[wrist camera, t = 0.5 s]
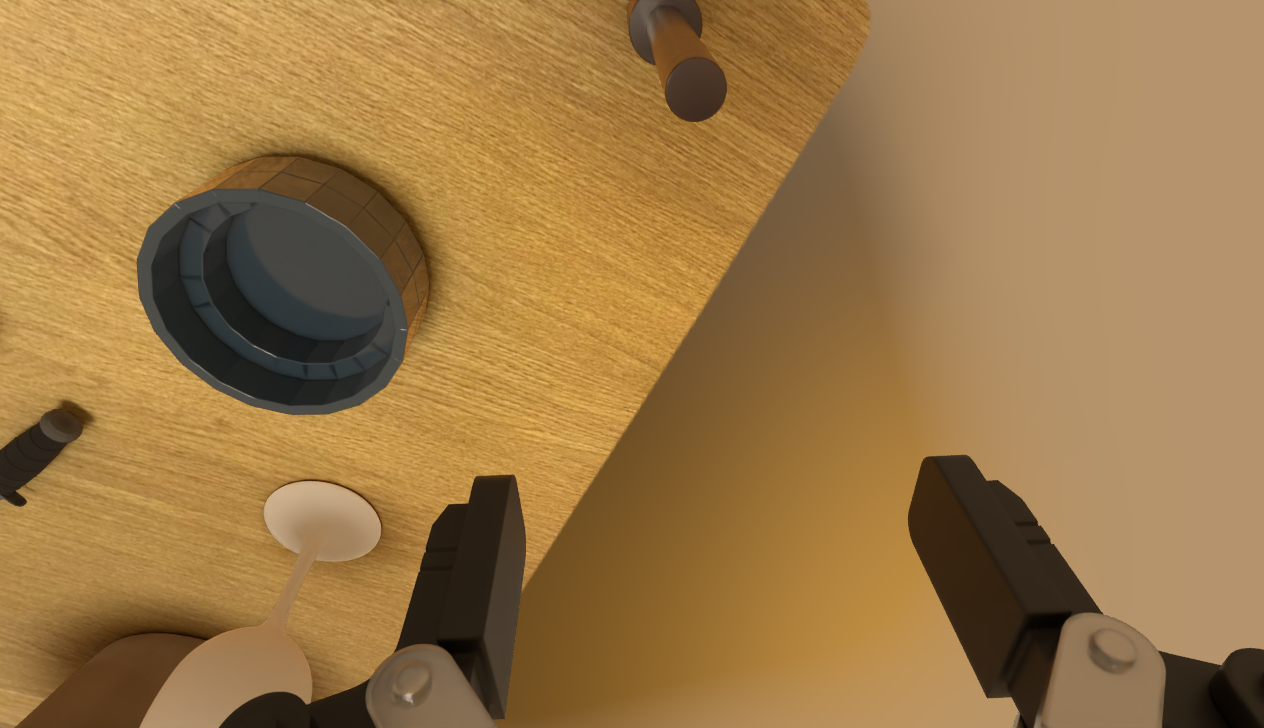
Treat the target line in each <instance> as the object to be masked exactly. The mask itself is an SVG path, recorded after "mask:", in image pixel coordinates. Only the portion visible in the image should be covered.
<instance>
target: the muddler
mask: <svg viewBox="0 0 1264 728" xmlns="http://www.w3.org/2000/svg"><path fill="white" fill-rule="evenodd" d="M627 21H628V28H629V35H630V39H631V42H632V45H633V47H634V49H635V50H636V52H637V53H638V54H639V55H640V56H641V57H642V58H643V59H644V60H645V61H647V62H649V63H651V64H653V65H656V67H657V70H658V74H659V77H660V80H661V84H662V87H663V91H664V94H665V97H666V101H667V104H668V106H669V108H670V109H671V111H672V112H673V113H674V114H675V115H676V116H677V117H679V118H681V119H683V120H685V121H689V122H700V121H704V120H706V119H708V118H710V117H712V116H713V115H714V114H716V113H717V112H718V110H719V109H720V108H721V106H722V105H723V103H724V100H725V97H726V93H727V82H726V78H725V75H724V73H723V71H722V69H721V68H720V66H719V65H718V64H717V62H716V61H715V60H714V58H713V57H712V55H711V54H710V53H709V51H708V50H707V48H706V47H705V46H704V44H703V43H702V41H701V40H700V37H701V33H702V17H701V12H700V9H699V7H698V5H697V3H696V1H695V0H629V2H628V7H627Z"/></svg>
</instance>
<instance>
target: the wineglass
mask: <svg viewBox="0 0 1264 728" xmlns="http://www.w3.org/2000/svg"><path fill="white" fill-rule="evenodd" d="M264 519H265V523H266V525H267V527H268V529H269V531H270V532H271V534H272V535H273V536H274V537H275V538H276V539H277V540H278V541H279V542H280V543H281V544H282V545H284V546H285V547H286V548H288V549H290V550H291V551H293V552H295V553H297V554H299V556H298V558H297V561H296V563H295V566H294V568H293V570H292V573H291V575H290V577H289V579H288V581H287V584H286V586H285V588H284V590H283V592H282V594H281V595H280V597H279V599H278V601H277V603H276V604H275V606H274V608H273V609H272V611H271V613H270V614H269V616H268V617H267V618H266V620H265V621H264V622H263V623H262V624H261V625H259V626H250V627H243V628H237V629H234V630H230V631H227V632H224V633H222V634H220V635H217V636H215V637H213V638H211V639H209V640H207V641H206V642H204V643H203V644H201V645H200V646H198V647H197V648H195V649H194V650H193V651H192V652H190V653H189V654H188V655H187V656H186V657H185V658H184V659H183V660H182V661H181V662H180V663H179V665H178V666H177V667H176V668H175V669H174V671H173V672H172V674H171V675H170V676H169V678H168V679H167V681H166V682H165V684H164V685H163V687H162V688H161V690H160V691H159V693H158V694H157V696H156V698H155V699H154V701H153V703H152V705H151V706H150V708H149V710H148V712H147V714H146V715H145V717H144V719H143V721H142V723H141V725H140V727H139V728H219V726H220V725H221V724H222V723H223V722H224V720H225V719H226V718H227V717H228V716H229V715H230V714H231V713H232V712H233V711H235V710H236V709H237V708H239V707H240V706H241V705H243V704H244V703H246V702H248V701H249V700H251V699H253V698H255V697H258V696H260V695H263V694H266V693H271V692H289V693H292V694H295V695H297V696H298V697H300V698H301V699H302V700H303V701H304V702H305V703H306V705H307V704H309V703H311V698H312V676H311V671H310V667H309V664H308V662H307V659H306V657H305V655H304V653H303V652H302V650H301V649H300V647H299V646H298V645H297V644H296V643H295V642H294V641H293V640H292V639H291V638H290V637H289V636H287V635H286V634H285V625H286V621H287V618H288V615H289V612H290V609H291V607H292V604H293V602H294V600H295V597H296V595H297V593H298V591H299V589H300V587H301V585H302V583H303V581H304V579H305V577H306V575H307V573H308V571H309V569H310V567H311V565H312V564H313V562H314V560H319V561H327V562H341V561H348V560H353V559H356V558H359V557H361V556H363V555H365V554H367V553H368V552H370V551H371V550H372V549H373V548H374V547H375V546H376V545H377V543H378V541H379V539H380V536H381V524H380V521H379V518H378V516H377V514H376V512H375V511H374V509H373V508H372V507H371V506H370V504H369V503H367V502H366V501H365V500H364V499H363V498H362V497H360V496H359V495H357V494H356V493H354V492H352V491H350V490H348V489H346V488H343V487H341V486H338V485H335V484H331V483H326V482H319V481H302V482H295V483H291V484H288V485H286V486H283V487H281V488H279V489H278V490H276V491H275V492H274V493H272V494H271V496H270V497H269V498H268V499H267V501H266V503H265V506H264Z"/></svg>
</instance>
